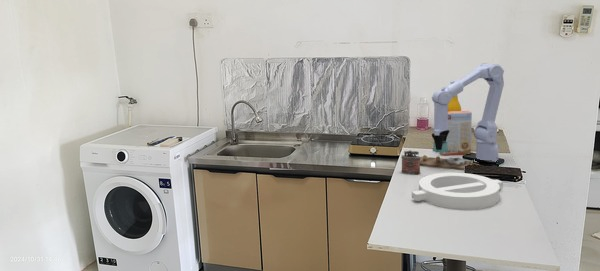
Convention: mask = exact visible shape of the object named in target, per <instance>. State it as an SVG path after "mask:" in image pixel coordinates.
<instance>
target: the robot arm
mask: <svg viewBox="0 0 600 271" xmlns="http://www.w3.org/2000/svg"><path fill="white" fill-rule="evenodd" d="M504 73H505V70H504V68H503V67H502V65H500V64H497V63H496V64H493V63H492V64H491V63H485V62H484V63H481V64H480V65H478V66H476V67H475V69H473V70H472V71H471V72H469V73H467V75H465V76H463V78H461V79H460V80H451V81H450V83H449V84H447V85H446V86H445V87H444V86H443V87H441V90H439V89H438V90H436V91H435V92H434V93H433V94H432V96H431V100H432V102H433V103H434V105H433V106H434V107H433V108H434V111H433V114H434V116H433V126H431V127H430V128H431V130H433V131H434V133H432V134H431V137H432V139H433V142H435V146H436V150H441V149H442V144H443V141H446V139H447V136H448V134H449V132H450V130H448V103H449V102H450V101H451V98H453V97H455V96H456V95H457V96H459V94H461V93H462V92H463V91H464V88H465V87H467V86H468V85H470V84H472V83H473V82H475V81H478V79H483V80H484V81H486V82H487V84H488V85H489V87H488V88H489V89H488V92H487V96H486V97H487V98H486V100H485V104H484V108H483V112H482V118H481V120H480V121H478V123H477V124H476V126H475V128H474V129H473V136H474V138H475V141H476V146H475V147H476V148H475V149H476V150H475V151H476V152H475V158H477V159H480V160H492V161H495V162H496V161H497V160H498V161H499V157H500V156H499V153H500V152H499V147H500V145H499V142H496V140H497V138H498V126H497V124H496V123H495V122H496V117H497V114H498V110H499V106H500V102H501V97H502V93H503V89H504V86H505V82H504ZM498 161H497V162H498ZM473 162H474V163H478V162H477V161H475V159H474V160H473Z"/></svg>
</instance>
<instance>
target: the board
mask: <svg viewBox="0 0 600 271" xmlns="http://www.w3.org/2000/svg"><path fill="white" fill-rule="evenodd" d="M471 164H472V161H471V160H466V159H465V158H460V157H449V158H443V157H442V158H441V157H440V156H436V157H429V156H427V155H426V154H424V155H423V156H420V167H429V168H437V169H438V168H439V169H448V170H458V171H465V170H464V169H465V166H467V165H470V166H471Z"/></svg>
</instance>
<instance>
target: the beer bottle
mask: <svg viewBox="0 0 600 271" xmlns="http://www.w3.org/2000/svg"><path fill="white" fill-rule="evenodd" d="M458 96H459V95H456V96H455V97H453V98H451V101H450V102H449V103H448V111H462V107H461V104H460V102H459V99H458Z"/></svg>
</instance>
